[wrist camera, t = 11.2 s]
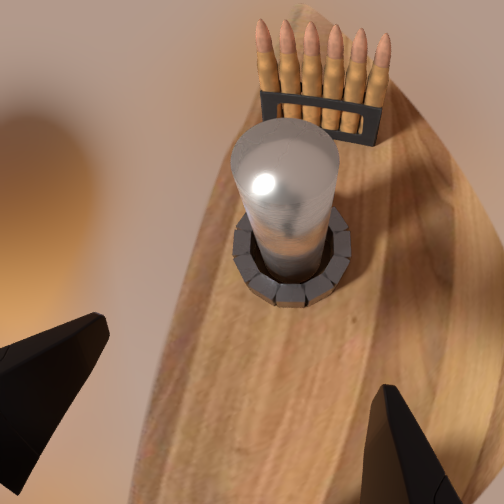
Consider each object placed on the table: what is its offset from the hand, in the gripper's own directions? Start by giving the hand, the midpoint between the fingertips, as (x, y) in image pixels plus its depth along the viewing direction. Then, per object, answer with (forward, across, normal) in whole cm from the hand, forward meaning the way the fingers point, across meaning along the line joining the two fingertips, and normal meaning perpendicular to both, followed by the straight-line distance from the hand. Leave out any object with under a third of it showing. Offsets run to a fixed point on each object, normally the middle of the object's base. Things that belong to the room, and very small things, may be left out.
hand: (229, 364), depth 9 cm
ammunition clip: (+24, 0, -5) cm, 25 cm away
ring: (+15, 0, +4) cm, 16 cm away
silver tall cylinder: (+15, 0, +4) cm, 16 cm away
